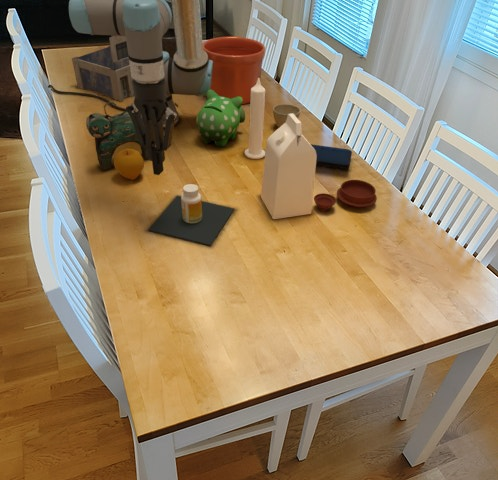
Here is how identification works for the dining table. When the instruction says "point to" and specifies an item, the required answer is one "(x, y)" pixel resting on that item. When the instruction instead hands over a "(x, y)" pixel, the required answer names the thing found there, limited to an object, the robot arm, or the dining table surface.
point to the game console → (332, 157)
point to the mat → (194, 232)
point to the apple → (129, 163)
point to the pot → (234, 65)
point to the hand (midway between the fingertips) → (158, 172)
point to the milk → (288, 171)
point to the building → (106, 70)
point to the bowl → (284, 113)
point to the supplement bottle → (191, 204)
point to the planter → (169, 42)
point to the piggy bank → (220, 118)
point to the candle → (256, 122)
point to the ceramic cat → (112, 135)
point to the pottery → (349, 195)
